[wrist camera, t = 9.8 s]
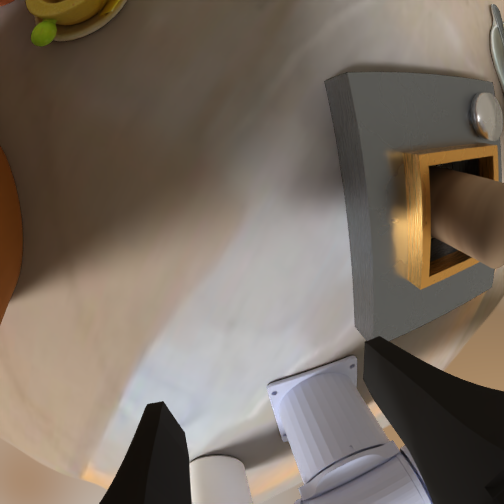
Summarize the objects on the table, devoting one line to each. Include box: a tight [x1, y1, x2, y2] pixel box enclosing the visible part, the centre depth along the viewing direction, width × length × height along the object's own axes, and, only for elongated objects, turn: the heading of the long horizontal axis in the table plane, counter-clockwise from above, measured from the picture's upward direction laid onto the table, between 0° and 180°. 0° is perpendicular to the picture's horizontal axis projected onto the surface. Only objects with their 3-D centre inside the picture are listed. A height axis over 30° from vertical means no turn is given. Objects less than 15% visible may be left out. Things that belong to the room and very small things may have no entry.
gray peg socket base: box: [324, 72, 503, 341], centre depth 18 cm, size 18×14×4 cm
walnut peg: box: [429, 166, 504, 269], centre depth 16 cm, size 5×5×8 cm
